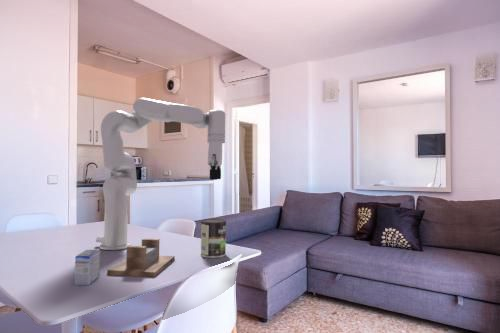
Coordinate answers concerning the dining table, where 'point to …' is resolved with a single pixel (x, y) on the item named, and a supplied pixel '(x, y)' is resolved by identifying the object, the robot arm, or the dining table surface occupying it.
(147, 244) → the display stand
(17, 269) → the dining table surface
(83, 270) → the medicine box
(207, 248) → the coffee can
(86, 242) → the dining table surface
